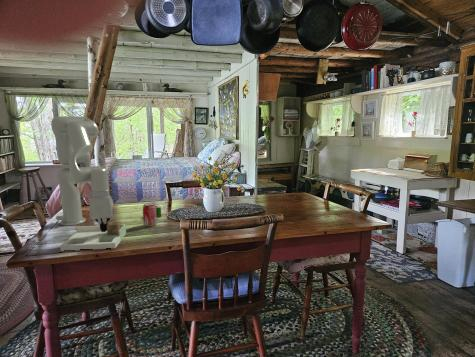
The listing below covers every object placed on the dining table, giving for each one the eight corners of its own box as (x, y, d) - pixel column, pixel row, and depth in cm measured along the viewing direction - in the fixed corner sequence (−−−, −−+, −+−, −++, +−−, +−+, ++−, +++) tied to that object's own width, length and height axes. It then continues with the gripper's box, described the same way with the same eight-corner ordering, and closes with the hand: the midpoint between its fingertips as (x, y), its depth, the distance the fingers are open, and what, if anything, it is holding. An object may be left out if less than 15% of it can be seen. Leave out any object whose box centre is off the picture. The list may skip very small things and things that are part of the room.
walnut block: (107, 235, 144) (106, 225, 144) (111, 231, 149) (110, 222, 148) (118, 234, 145) (117, 224, 144) (121, 231, 150) (120, 221, 149)
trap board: (60, 251, 133) (59, 240, 132) (78, 236, 151) (77, 226, 150) (115, 248, 135) (114, 237, 134) (126, 233, 154) (125, 224, 153)
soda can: (145, 223, 170) (143, 202, 168) (158, 222, 171) (156, 202, 169) (142, 227, 163) (140, 205, 161) (155, 226, 164) (154, 205, 162)
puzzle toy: (159, 214, 188) (158, 205, 187) (161, 217, 183) (160, 207, 182) (149, 215, 185) (148, 206, 184) (151, 218, 180) (150, 208, 179)
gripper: (81, 196, 139) (84, 234, 142) (114, 195, 141) (118, 233, 144) (87, 193, 147) (90, 229, 150) (119, 191, 148) (122, 228, 151)
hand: (104, 231), depth 147 cm, fingers closed
